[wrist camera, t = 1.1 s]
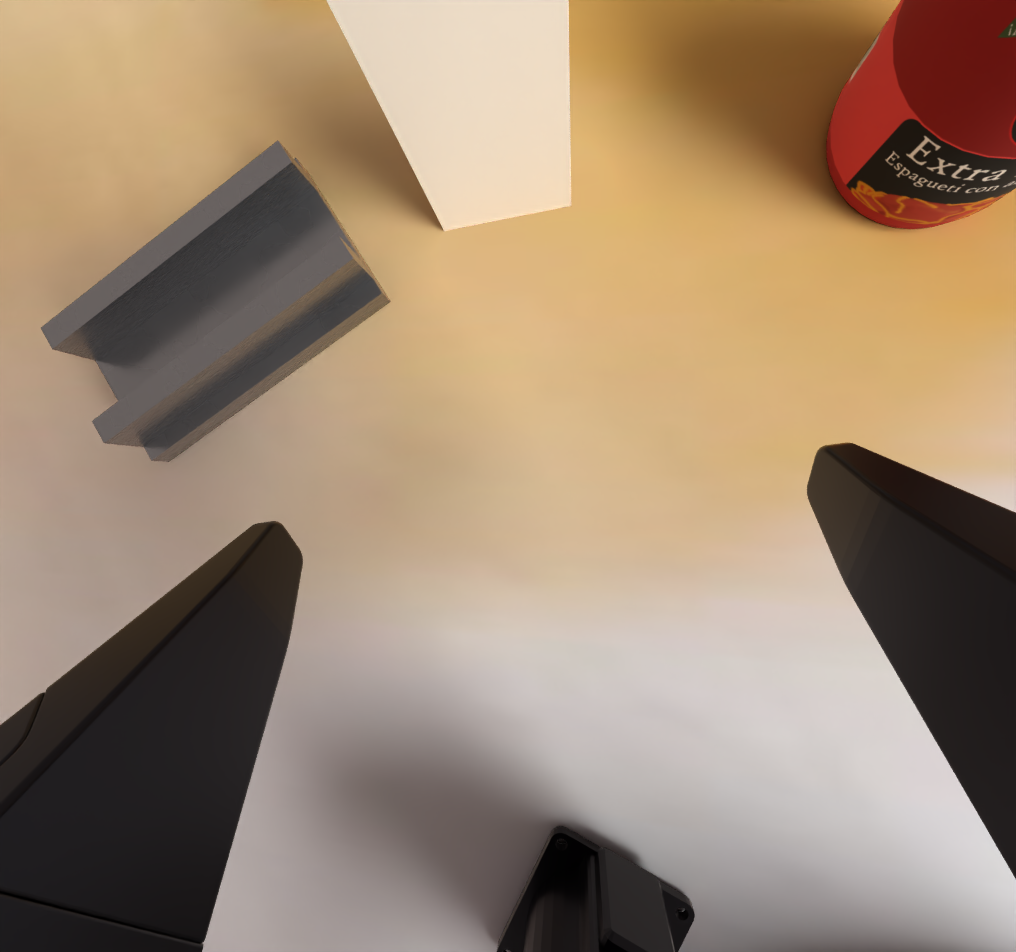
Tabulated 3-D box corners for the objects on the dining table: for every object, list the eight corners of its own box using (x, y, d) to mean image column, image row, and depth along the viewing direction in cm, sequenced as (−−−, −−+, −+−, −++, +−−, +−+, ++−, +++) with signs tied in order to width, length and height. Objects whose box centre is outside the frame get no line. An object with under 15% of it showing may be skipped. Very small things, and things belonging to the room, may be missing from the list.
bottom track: (390, 301, 23) (363, 273, 20) (168, 461, 24) (112, 458, 21) (307, 171, 24) (268, 126, 21) (97, 334, 25) (33, 313, 22)
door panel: (571, 205, 22) (566, -198, 9) (444, 231, 23) (272, -106, 10) (563, 145, 22) (547, -339, 9) (437, 172, 23) (258, -237, 10)
